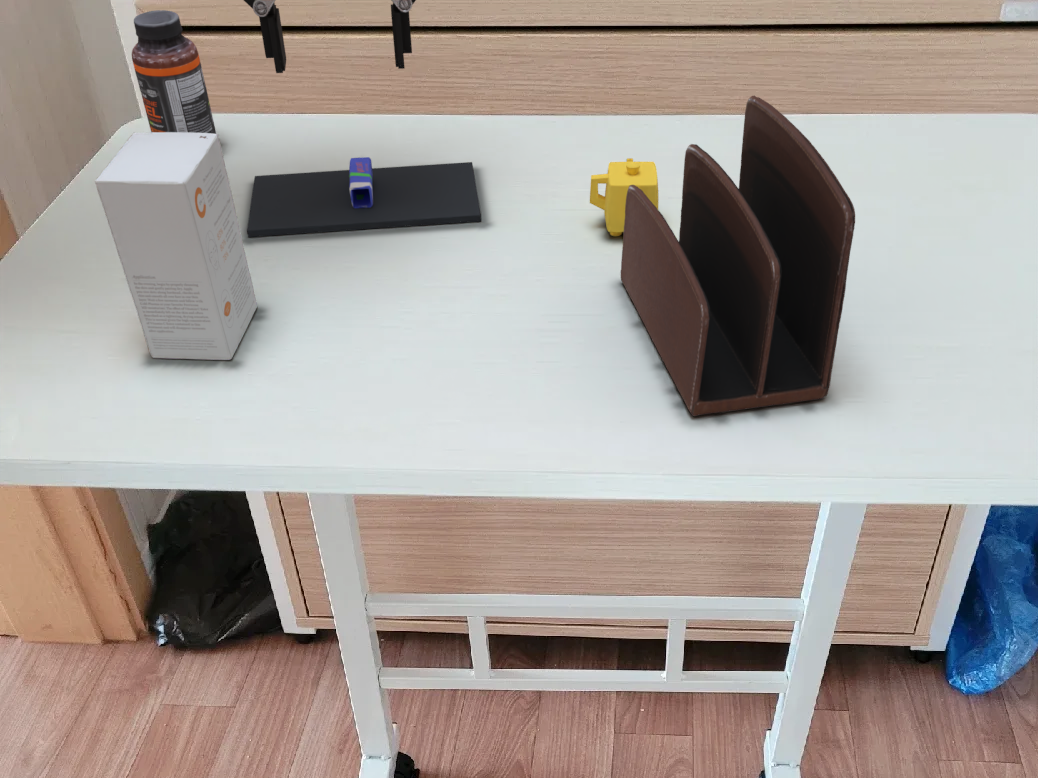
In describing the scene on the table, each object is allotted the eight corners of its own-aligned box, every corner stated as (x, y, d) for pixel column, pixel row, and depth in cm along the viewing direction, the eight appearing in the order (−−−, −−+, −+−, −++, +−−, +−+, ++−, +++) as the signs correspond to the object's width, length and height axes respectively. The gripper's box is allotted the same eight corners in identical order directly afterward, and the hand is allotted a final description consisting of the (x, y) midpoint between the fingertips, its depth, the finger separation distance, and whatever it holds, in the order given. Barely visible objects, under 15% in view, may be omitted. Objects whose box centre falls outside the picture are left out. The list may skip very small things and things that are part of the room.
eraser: (351, 209, 97) (347, 186, 95) (352, 180, 100) (349, 157, 99) (374, 208, 97) (371, 184, 95) (374, 179, 101) (371, 156, 99)
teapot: (588, 204, 98) (589, 143, 94) (654, 204, 98) (658, 142, 94) (589, 247, 92) (590, 184, 89) (658, 247, 92) (662, 183, 88)
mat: (248, 237, 95) (246, 230, 94) (255, 182, 102) (254, 175, 102) (481, 221, 96) (480, 214, 95) (472, 168, 103) (472, 161, 103)
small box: (181, 304, 87) (132, 129, 78) (259, 306, 87) (220, 131, 77) (148, 359, 82) (91, 179, 72) (232, 362, 82) (186, 181, 72)
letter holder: (738, 267, 90) (761, 76, 79) (828, 401, 77) (870, 195, 66) (618, 281, 89) (626, 89, 78) (690, 420, 76) (710, 213, 65)
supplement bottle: (145, 149, 107) (109, 16, 99) (199, 131, 110) (168, 0, 101) (176, 167, 104) (141, 32, 96) (230, 149, 107) (201, 16, 98)
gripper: (177, -192, 75) (230, 86, 87) (434, -197, 76) (449, 77, 89) (188, -213, 80) (236, 53, 92) (429, -217, 81) (444, 46, 94)
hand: (340, 65), depth 90 cm, fingers open, 9 cm apart
